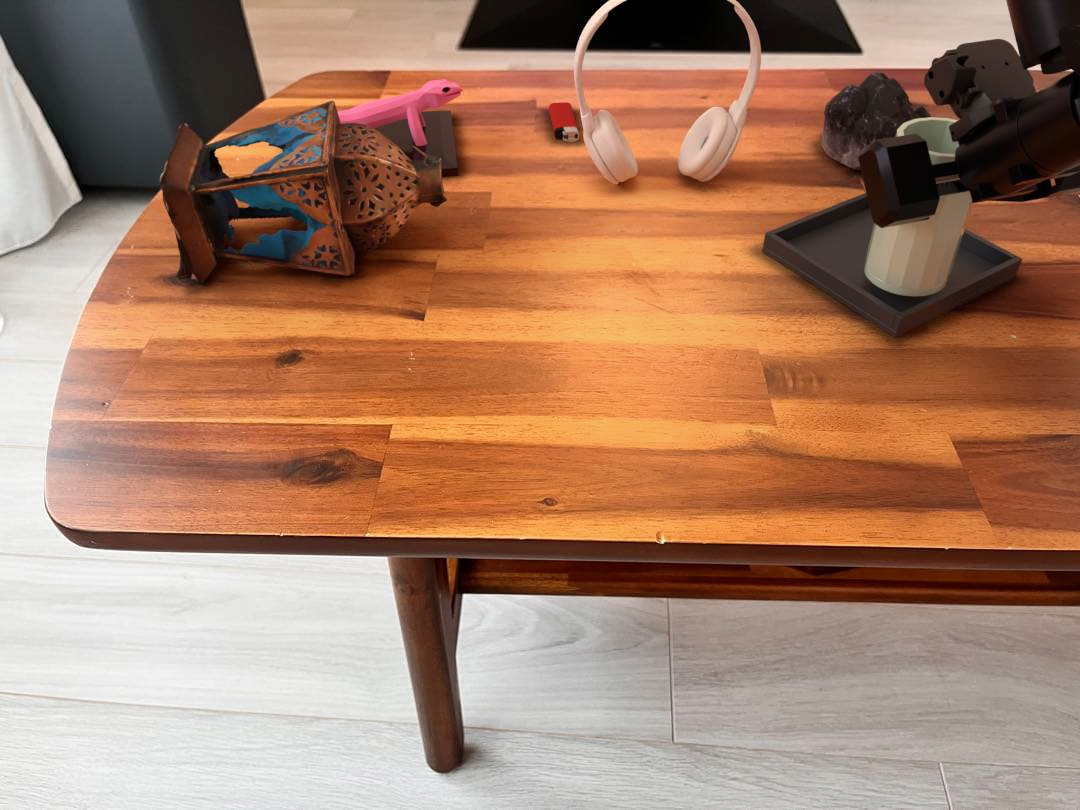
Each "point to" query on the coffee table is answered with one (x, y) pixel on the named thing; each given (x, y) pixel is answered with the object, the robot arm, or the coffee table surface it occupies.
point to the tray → (840, 254)
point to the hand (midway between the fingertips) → (914, 199)
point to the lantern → (296, 193)
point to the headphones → (705, 139)
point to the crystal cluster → (865, 117)
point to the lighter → (563, 121)
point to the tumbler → (921, 228)
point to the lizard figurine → (414, 122)
